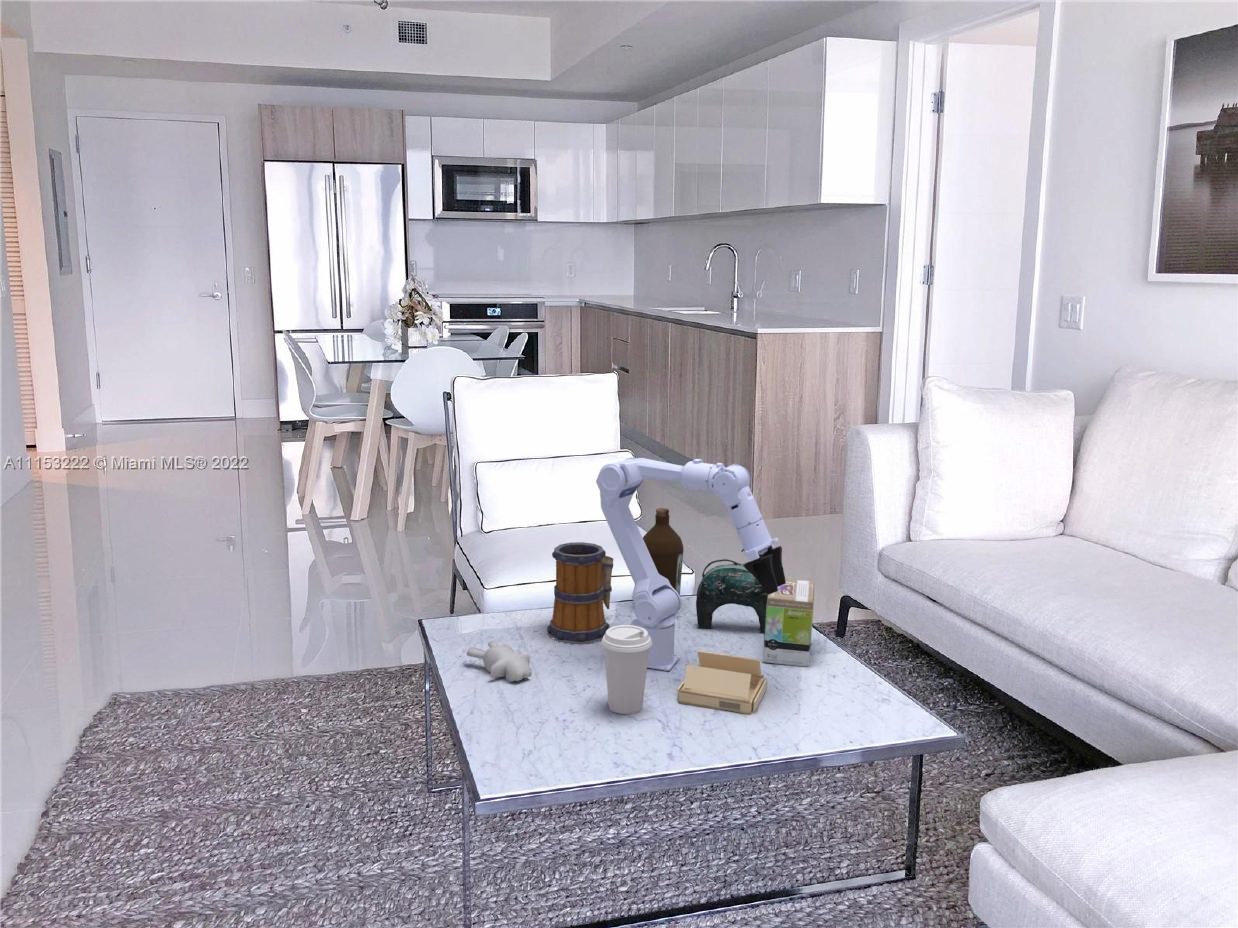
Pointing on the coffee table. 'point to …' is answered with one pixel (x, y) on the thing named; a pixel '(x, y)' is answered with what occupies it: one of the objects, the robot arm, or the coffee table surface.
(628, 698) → the coffee cup
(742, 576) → the green animal figurine
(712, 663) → the flap far
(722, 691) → the flap near
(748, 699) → the carton
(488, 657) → the bunny figurine
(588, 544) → the mug
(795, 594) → the tea box
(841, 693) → the coffee table surface
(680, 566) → the olive oil
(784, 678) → the coffee table surface
